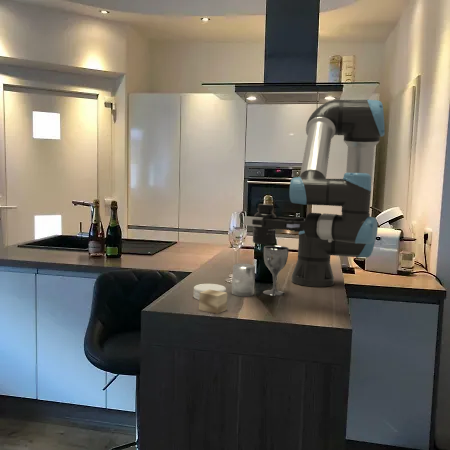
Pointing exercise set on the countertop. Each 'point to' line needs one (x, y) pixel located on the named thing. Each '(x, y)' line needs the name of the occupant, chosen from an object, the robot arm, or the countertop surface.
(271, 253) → the wine glass
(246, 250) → the countertop surface
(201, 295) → the maple block
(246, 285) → the frosted glass cup
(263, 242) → the supplement bottle
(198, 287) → the brie cheese wheel
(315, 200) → the robot arm
